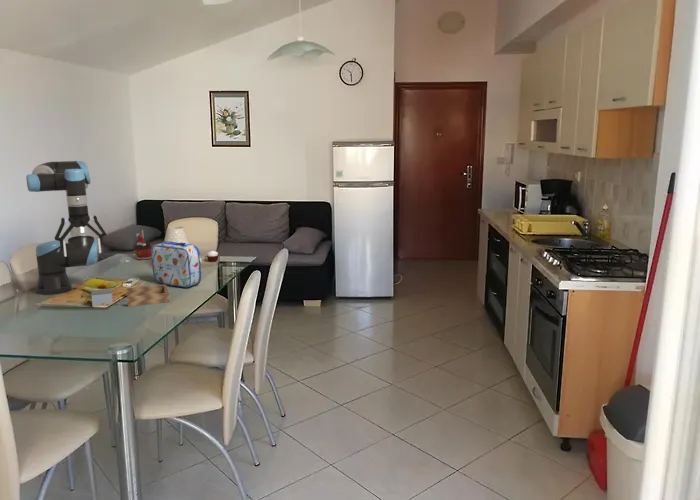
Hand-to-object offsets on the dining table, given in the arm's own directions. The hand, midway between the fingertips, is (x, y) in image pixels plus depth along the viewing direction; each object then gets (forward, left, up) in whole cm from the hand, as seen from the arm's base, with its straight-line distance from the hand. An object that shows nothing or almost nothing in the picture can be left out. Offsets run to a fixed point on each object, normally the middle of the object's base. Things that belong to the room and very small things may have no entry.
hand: (82, 254), depth 244 cm
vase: (+43, +50, -22) cm, 69 cm away
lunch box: (+40, +16, -22) cm, 48 cm away
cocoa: (+64, +62, -22) cm, 92 cm away
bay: (+24, -5, -22) cm, 33 cm away
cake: (+27, +87, -22) cm, 93 cm away
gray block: (+6, -5, -22) cm, 23 cm away
